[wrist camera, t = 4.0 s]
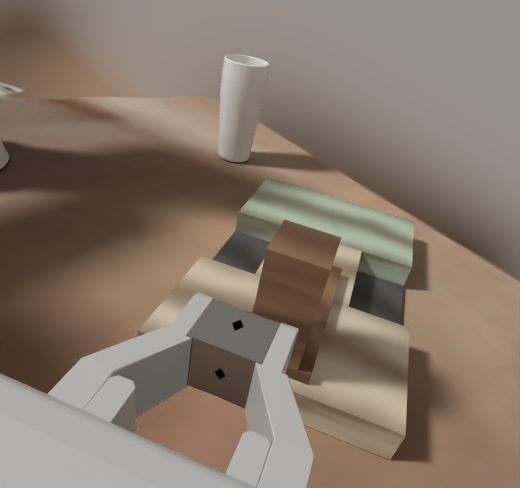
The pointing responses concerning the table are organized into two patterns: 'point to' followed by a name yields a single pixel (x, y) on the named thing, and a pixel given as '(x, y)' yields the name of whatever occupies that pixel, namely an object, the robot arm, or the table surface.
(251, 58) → the drinking glass
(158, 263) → the table surface
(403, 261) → the board
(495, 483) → the table surface
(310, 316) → the push block
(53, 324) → the table surface
